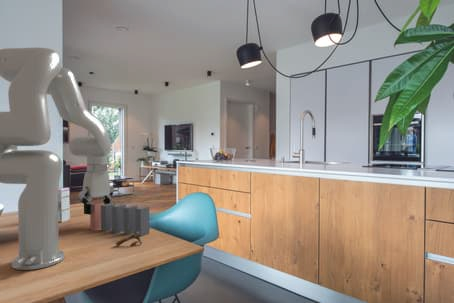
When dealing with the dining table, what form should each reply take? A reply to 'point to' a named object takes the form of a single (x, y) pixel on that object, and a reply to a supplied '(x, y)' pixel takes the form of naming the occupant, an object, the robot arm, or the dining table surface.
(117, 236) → the dining table surface
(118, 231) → the domino
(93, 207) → the domino
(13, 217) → the dining table surface
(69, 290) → the dining table surface
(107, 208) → the domino
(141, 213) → the domino
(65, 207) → the syrup box
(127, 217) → the domino
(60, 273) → the dining table surface
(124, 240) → the wooden post with brackets
